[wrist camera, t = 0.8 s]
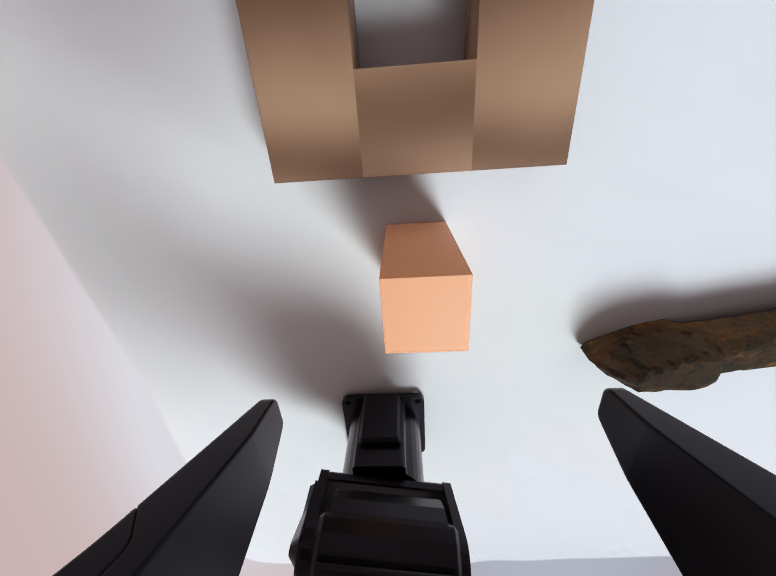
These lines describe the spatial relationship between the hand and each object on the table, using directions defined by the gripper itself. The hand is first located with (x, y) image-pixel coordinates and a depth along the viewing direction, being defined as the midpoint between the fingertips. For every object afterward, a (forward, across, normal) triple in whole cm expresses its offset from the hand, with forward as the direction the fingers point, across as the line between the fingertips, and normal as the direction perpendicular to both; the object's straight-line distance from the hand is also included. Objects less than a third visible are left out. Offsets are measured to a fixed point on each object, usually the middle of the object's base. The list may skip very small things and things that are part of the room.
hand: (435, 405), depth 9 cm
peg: (+13, 0, 0) cm, 13 cm away
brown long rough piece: (+13, -21, +7) cm, 26 cm away
